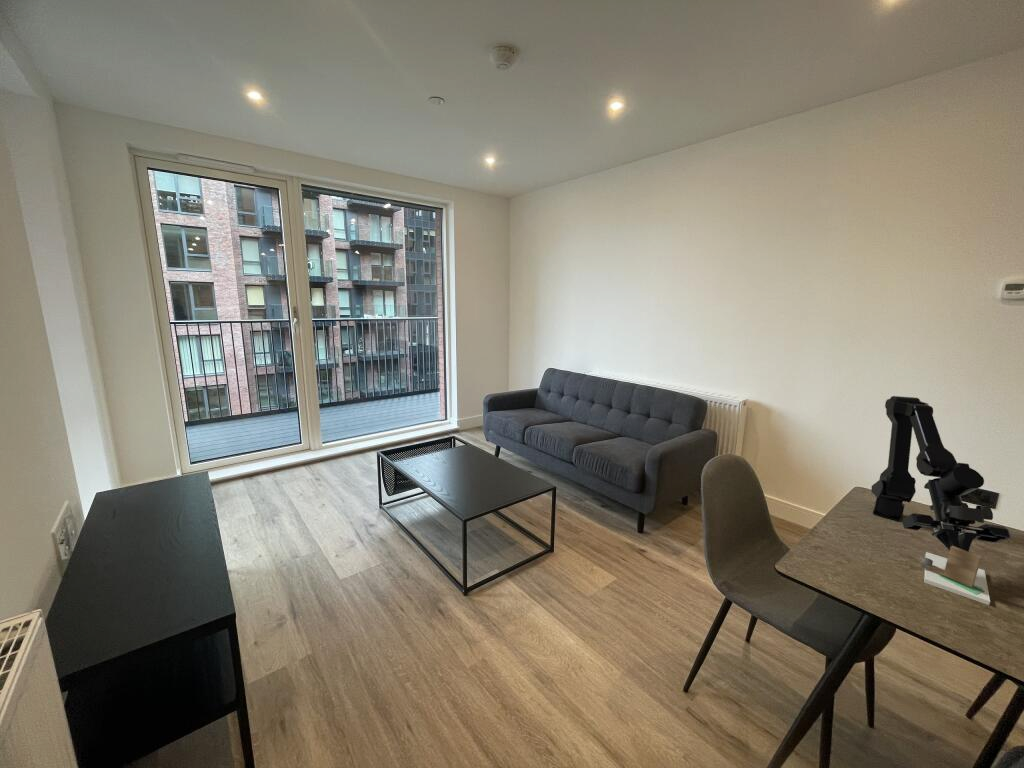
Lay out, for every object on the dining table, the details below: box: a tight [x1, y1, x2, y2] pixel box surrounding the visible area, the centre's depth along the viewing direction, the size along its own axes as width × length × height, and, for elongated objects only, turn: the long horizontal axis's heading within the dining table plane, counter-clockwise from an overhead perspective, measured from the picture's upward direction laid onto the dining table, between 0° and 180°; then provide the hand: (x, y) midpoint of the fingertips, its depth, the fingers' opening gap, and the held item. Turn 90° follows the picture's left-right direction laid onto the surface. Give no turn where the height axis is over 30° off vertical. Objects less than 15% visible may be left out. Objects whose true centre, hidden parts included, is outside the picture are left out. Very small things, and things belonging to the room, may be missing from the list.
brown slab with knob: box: [920, 546, 985, 592], centre depth 102 cm, size 12×2×8 cm, turn 27°
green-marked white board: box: [923, 551, 991, 606], centre depth 105 cm, size 11×16×1 cm
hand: (962, 562), depth 102 cm, fingers closed
